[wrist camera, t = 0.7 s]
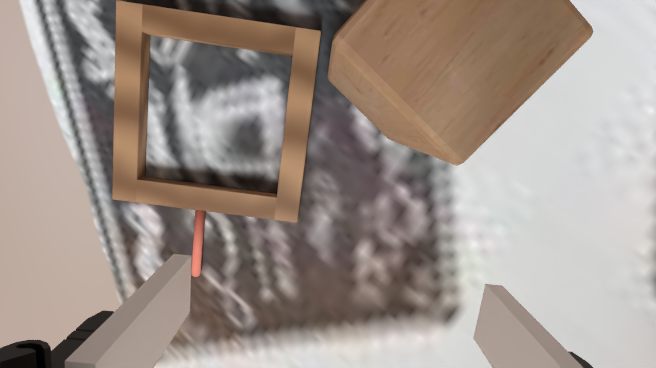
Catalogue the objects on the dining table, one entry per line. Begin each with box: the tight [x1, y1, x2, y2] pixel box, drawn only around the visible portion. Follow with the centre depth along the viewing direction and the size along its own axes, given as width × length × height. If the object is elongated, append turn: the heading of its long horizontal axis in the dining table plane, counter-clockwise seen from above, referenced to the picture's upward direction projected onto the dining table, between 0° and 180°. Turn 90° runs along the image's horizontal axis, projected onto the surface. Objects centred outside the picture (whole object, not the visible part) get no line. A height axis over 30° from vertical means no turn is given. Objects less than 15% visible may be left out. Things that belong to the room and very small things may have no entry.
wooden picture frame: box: [113, 0, 321, 222], centre depth 38 cm, size 20×20×2 cm
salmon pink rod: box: [191, 210, 205, 277], centre depth 41 cm, size 9×1×1 cm, turn 172°
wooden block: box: [327, 0, 593, 165], centre depth 28 cm, size 10×10×20 cm
